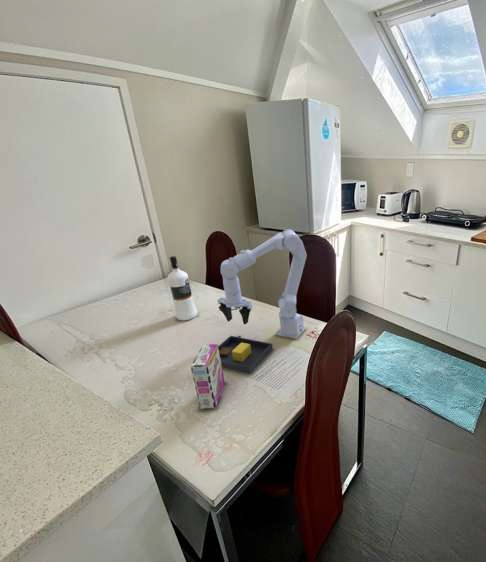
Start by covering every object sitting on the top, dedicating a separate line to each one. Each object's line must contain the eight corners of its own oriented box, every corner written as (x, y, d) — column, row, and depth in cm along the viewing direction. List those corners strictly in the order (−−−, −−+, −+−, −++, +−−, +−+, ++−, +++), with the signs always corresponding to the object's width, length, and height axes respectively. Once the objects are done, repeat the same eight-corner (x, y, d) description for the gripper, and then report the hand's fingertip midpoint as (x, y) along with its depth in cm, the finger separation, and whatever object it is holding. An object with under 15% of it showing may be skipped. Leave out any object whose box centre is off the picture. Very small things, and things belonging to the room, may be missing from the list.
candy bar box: (217, 409, 95) (207, 365, 89) (200, 410, 95) (189, 366, 88) (226, 383, 106) (218, 343, 99) (211, 384, 105) (202, 344, 99)
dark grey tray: (272, 350, 123) (272, 343, 121) (250, 374, 109) (249, 368, 108) (231, 341, 128) (230, 335, 127) (206, 364, 115) (204, 357, 114)
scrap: (232, 350, 122) (232, 348, 121) (227, 357, 118) (227, 354, 118) (223, 349, 122) (222, 347, 122) (217, 356, 119) (217, 353, 118)
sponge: (251, 352, 120) (250, 344, 119) (242, 362, 115) (240, 353, 113) (242, 350, 121) (241, 342, 120) (233, 360, 116) (231, 351, 115)
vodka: (184, 310, 153) (170, 252, 141) (201, 312, 151) (188, 253, 139) (172, 320, 145) (155, 259, 132) (190, 322, 143) (175, 260, 131)
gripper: (209, 292, 118) (216, 323, 123) (242, 297, 114) (247, 329, 119) (222, 285, 124) (227, 315, 129) (253, 290, 120) (257, 320, 125)
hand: (237, 321), depth 125 cm, fingers open, 7 cm apart
